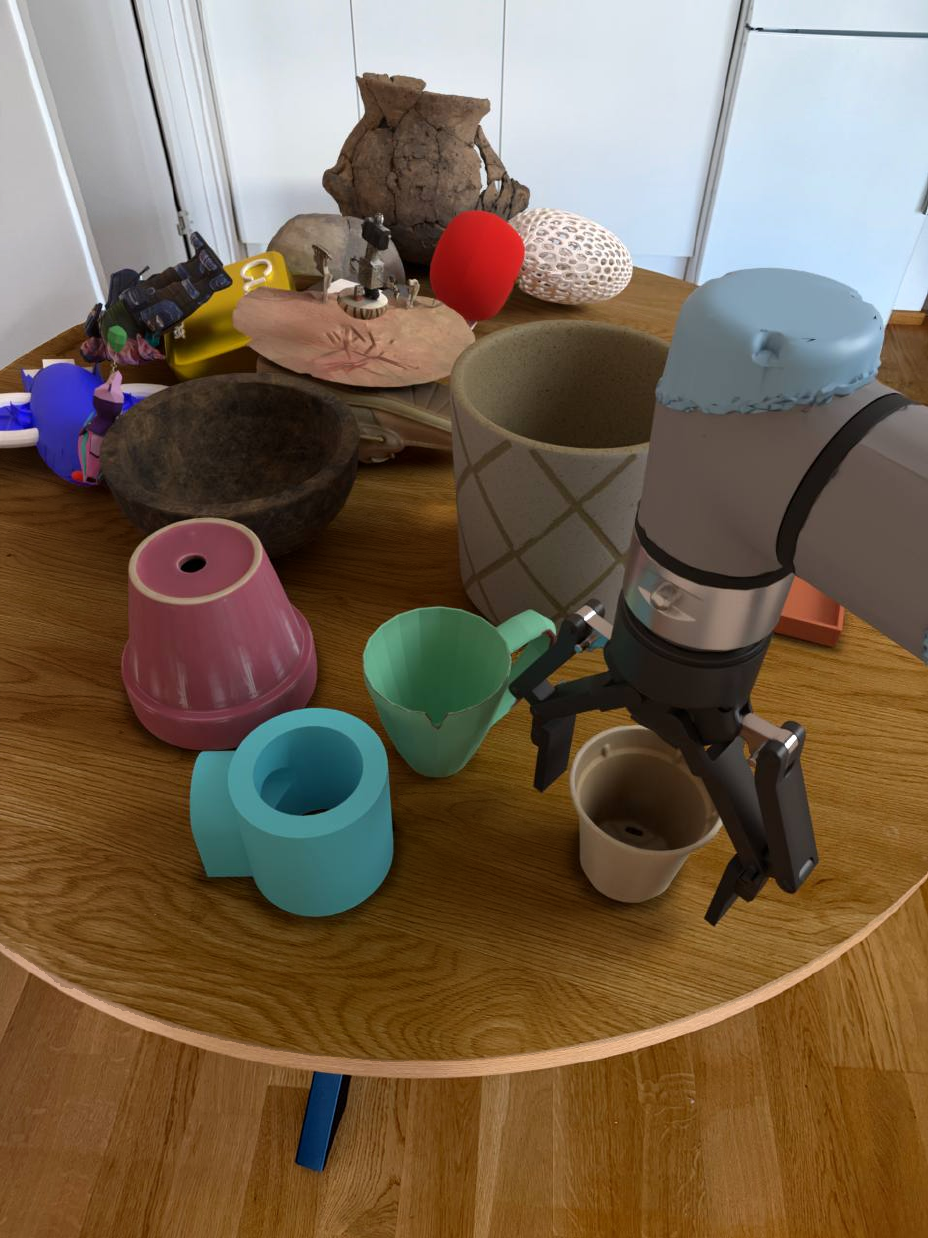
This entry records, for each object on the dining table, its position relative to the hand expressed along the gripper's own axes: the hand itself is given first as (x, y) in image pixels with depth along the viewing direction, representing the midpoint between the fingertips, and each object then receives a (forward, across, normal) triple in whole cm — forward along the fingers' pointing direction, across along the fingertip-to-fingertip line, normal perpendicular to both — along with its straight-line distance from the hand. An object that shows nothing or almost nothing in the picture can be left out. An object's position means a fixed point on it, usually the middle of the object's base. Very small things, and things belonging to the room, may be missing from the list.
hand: (630, 840), depth 59 cm
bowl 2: (-8, -76, +42) cm, 87 cm away
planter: (+3, -21, +18) cm, 28 cm away
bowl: (+3, -46, +3) cm, 46 cm away
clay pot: (+2, -77, +54) cm, 94 cm away
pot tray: (+2, -7, +31) cm, 32 cm away
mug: (+3, -15, 0) cm, 15 cm away
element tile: (0, -72, +22) cm, 75 cm away
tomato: (-8, -61, +43) cm, 75 cm away
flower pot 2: (+3, 0, 0) cm, 3 cm away
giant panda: (-3, -61, +37) cm, 72 cm away
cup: (+3, -16, -14) cm, 22 cm away
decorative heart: (-6, -56, +52) cm, 76 cm away
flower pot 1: (-10, -32, -9) cm, 35 cm away
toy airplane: (-2, -70, +1) cm, 70 cm away
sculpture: (-5, -55, +25) cm, 61 cm away
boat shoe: (-5, -47, +22) cm, 52 cm away
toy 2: (0, -79, +15) cm, 80 cm away
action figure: (-10, -72, +21) cm, 76 cm away
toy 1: (-14, -59, +3) cm, 60 cm away
